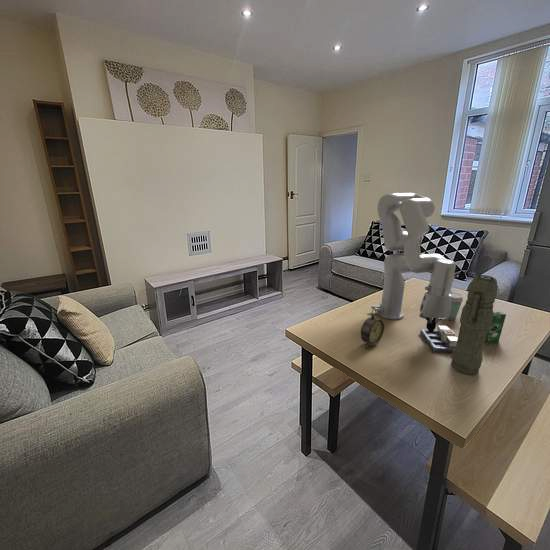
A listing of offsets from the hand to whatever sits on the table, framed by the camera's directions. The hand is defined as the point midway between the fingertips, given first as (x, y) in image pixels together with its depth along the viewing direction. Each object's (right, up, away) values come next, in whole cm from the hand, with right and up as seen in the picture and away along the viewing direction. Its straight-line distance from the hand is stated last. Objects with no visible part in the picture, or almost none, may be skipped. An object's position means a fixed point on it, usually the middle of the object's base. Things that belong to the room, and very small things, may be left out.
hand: (430, 330), depth 121 cm
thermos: (+4, -11, -15) cm, 19 cm away
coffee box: (+26, -5, +1) cm, 26 cm away
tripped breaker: (+7, -4, -1) cm, 8 cm away
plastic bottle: (+29, +8, +41) cm, 51 cm away
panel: (+4, -6, 0) cm, 7 cm away
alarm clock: (-25, -6, 0) cm, 26 cm away
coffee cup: (+22, +2, +23) cm, 32 cm away
